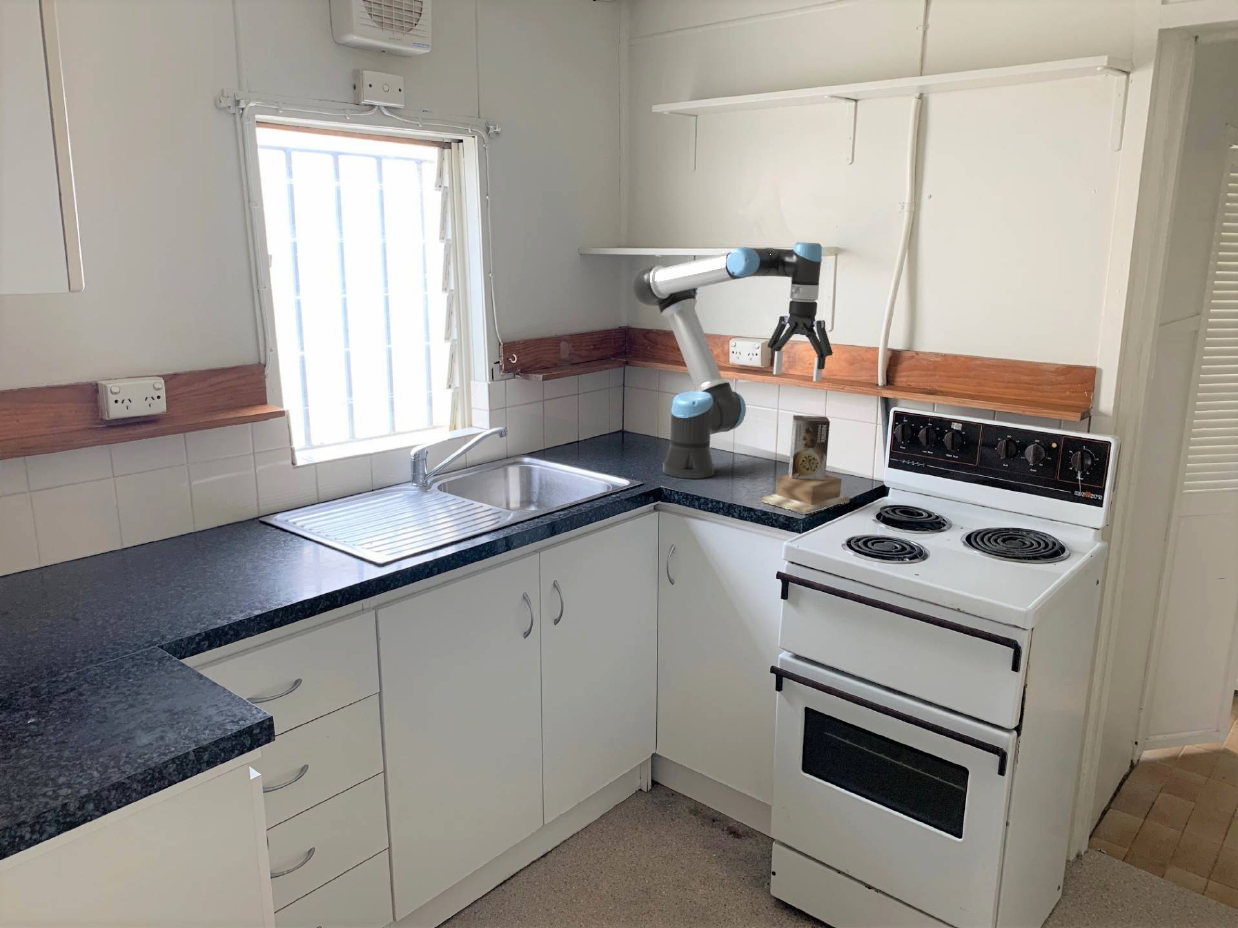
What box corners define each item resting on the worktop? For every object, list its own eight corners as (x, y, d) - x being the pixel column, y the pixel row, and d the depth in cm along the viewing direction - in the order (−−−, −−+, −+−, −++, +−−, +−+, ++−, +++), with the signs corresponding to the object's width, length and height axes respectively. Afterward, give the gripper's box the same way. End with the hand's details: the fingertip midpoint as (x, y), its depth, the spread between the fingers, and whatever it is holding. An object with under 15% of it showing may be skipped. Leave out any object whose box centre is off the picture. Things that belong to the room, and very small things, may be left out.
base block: (776, 495, 245) (778, 477, 244) (806, 487, 254) (807, 470, 252) (810, 504, 237) (812, 486, 236) (839, 496, 246) (841, 478, 245)
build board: (761, 502, 243) (761, 496, 243) (806, 490, 257) (806, 484, 256) (804, 515, 234) (805, 509, 233) (849, 502, 247) (849, 496, 247)
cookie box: (821, 474, 248) (827, 416, 244) (825, 480, 242) (831, 421, 238) (787, 472, 249) (792, 414, 245) (790, 478, 242) (795, 419, 238)
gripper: (759, 297, 257) (753, 372, 262) (834, 304, 240) (826, 385, 245) (775, 296, 262) (769, 370, 267) (850, 304, 245) (842, 382, 250)
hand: (796, 377), depth 256 cm, fingers open, 13 cm apart
